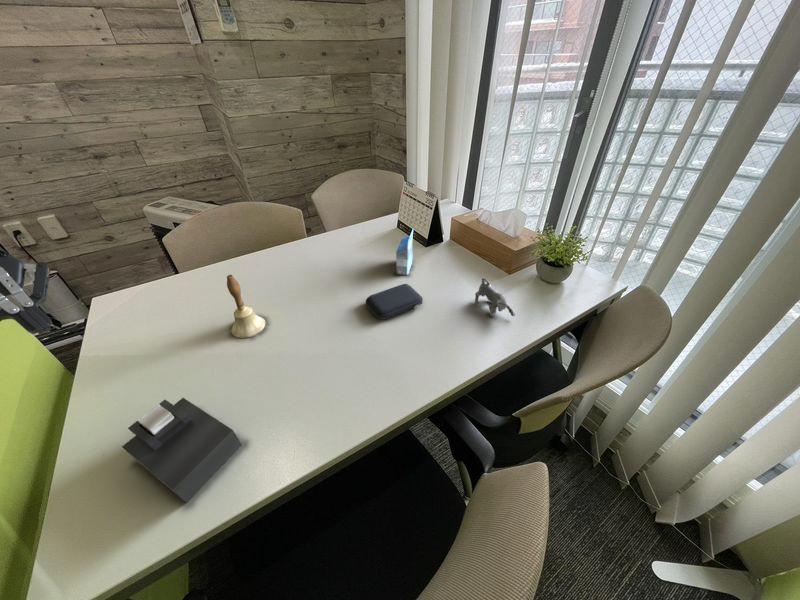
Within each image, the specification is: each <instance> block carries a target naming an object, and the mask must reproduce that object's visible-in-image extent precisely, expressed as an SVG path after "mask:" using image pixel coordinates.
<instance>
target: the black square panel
mask: <svg viewBox="0 0 800 600" xmlns="http://www.w3.org/2000/svg"><path fill="white" fill-rule="evenodd" d="M157 405H160V406H161V407H163V408H164V409H166V410H167V411H169V412H170V413H171V414H172V415H173V417H174V418H175V419H173V420H172V421H171V422H170V423H169V424H167V425H166V426H165V427H164V428H163V429H162V430H160V431H159V432H158V433H157V434H156V435H153V434H152V433H151V432H149V431H148V430H147V429H146V428H144V427H143V426H142V425H141V424H140V423H139V422H138V420H137V421H135V422H134V423H132V424H131V425H130V426H129V427H128V428H127V429H128V430H129V431H130V432H131V434H133V435H134V436H132V438H131V439H130V440H128V441H127V442H126V443H124V444H123V445H122V446H121V448H122V449H123V450H124V451H125V452H126V453H127V454H129V456H130V457H132V458H133V459H134V460H135V461H136V462H137V463H138V464H140V465H141V466H142V467H143V468H145V469H146V470H147V472H149V473H150V474H151V475H153V476H154V477H155V478H156V479H158V480H159V481H160V482H161V483H162V484H163V485H165V486H166V487H167V488H168V489H169V490H171V491H172V492H173V493H174V494H175V495H176V496H178V497H179V498H180V499H181V500H182V501H184V502H185V503H186V504H187V503H189V502H190V501H191V500H192V498H193V497H195V496H196V494H197V493H198V492H200V490H201V489H202V488H203V487H204V486H205V485H206V484H207V483H208V482H209V481H210V480H211V479H212V478H213V476H214V475H216V473H217V472H218V471H219V470H220V469H221V468H222V467H223V466H224V465H225V464H226V463H227V461H229V459H230V458H231V457H233V455H234V454H235V453H236V452H237V451H238V450H239V449H240V448H241V447H242V446H243V444H242V443H241V441H240V439H239V437H238V436H237V434H236V433H235V431H234V430H233V429H232V428H231V427H229V426H228V425H226V424H224V423H223V422H221V421H220V420H218V419H217V418H215V417H213V416H212V415H210V414H209V413H208V412H207V411H205V410H204V409H201V408H200V407H198V406H197V405H196V404H194V403H192V402H191V401H189V400H188V399H186V398H185V397H182V398H180V399H179V400H178V401H177V402H175V403H174V404H173V403H171V402H170V401H168V400H167V399H163V400H162V401H160V402H159V403H158V404H157Z"/></svg>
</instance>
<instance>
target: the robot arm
mask: <svg viewBox="0 0 800 600" xmlns="http://www.w3.org/2000/svg"><path fill="white" fill-rule="evenodd" d="M26 272H27V273H28V274H29V276H30V278H32V279H33V280H34V281H33V287H32V288H33V289H32V293H31V294H30V295H29V296H28V294H27V293H25V291H24V290H23V288H24V286H25V278H26V277H25V276H26ZM50 273H51V271H50V268H49V265H48V263H47V262H45V261H39V262H37V263H27V262H23V261H22V260H21V259H20V258H17V257H14V256H13V255H10V254H9V253H8V252H7V251H5V250H4V248H2V247H1V246H0V322H2V321H6V320H14V321H15V322H16V323H18V324H19V326H20V327H22V328H23V329H24V330H25V331H26V332H27V333H28V334H31V335H35V334H38V335H39V336H42V335H43V334H46V333H47V332H49V331H51V330H52V327H51V326H52V325H53V322H52V319H51V318H50V317H49V316H48V315H47V314H46V313H45V312H44V311H42V310H41V309H40V308H39V306H40V305H41V304H42V303H45V302H46V301H47V299H48V293H49V292H48V291H49V282H50ZM6 296H7V297H8V296H11V298H13V300H14V301H15V302H17V303H18V304H19V306H20V307H21V308H22V309H23V310H21V309H20V308H19V307H18V306H17V305H16V304H14V303H13V302H12V301H10V300H9V299H8V298H7V297H6Z"/></svg>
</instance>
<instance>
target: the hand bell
mask: <svg viewBox="0 0 800 600" xmlns="http://www.w3.org/2000/svg"><path fill="white" fill-rule="evenodd" d="M226 287H227V290H228V292H229V294H230V295H231V297H232V298H233V299H234V301H235V305H236V309H234V311H233V318H234V323H233V324H232V326H231V334H232V335H233V336H234V337H236V338H238V339H239V338H240V339H245V338H246V339H247V338H251V337H254V336H256V335H258V334H259V333H261V332H262V331H263V330H264V328H265V326H266V320H265V319H264V318H263V317H262V316H259V315H257V314H256V313H255V312H254V310H253V308H252V307H251V306H248V305H245V303H244V300H243V298H242V290H241V286H240V283H239V282H238V280H237V279H236V278H235V277H234V275H233V274H228V275H227V276H226Z"/></svg>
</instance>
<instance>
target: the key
mask: <svg viewBox="0 0 800 600" xmlns="http://www.w3.org/2000/svg"><path fill="white" fill-rule="evenodd" d="M173 419H175V418H174V417H173V415H172V414H171V413H170V412H169V411H167V410H166V409H164V408H163V407H161V406H160V405H158V404H157V405H155V406H154V407H153V408H152V409H150V410H148V412H146V413H145V414H144V415H143V416H141V417H140V418H139V419H137V421H138V422H139V423H140V424H141V425H142V426H143V427H144V428H146V429H147V430H148V431H149V432H151V433H152V434H153V435H156V434H157V433H158V432H159V431H160V430H162V429H163V428H164V427H165V426H166V425H167V424H169V423H170V422H171V421H172V420H173Z"/></svg>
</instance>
